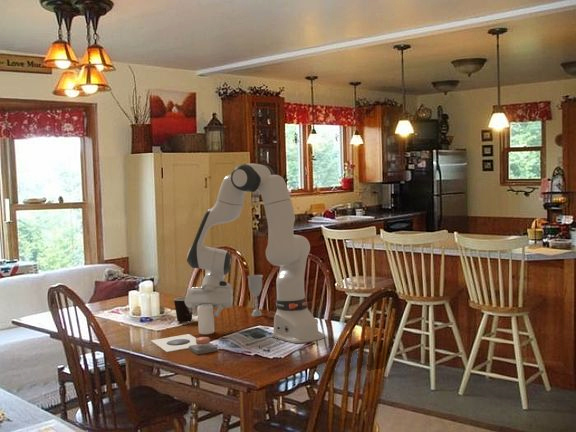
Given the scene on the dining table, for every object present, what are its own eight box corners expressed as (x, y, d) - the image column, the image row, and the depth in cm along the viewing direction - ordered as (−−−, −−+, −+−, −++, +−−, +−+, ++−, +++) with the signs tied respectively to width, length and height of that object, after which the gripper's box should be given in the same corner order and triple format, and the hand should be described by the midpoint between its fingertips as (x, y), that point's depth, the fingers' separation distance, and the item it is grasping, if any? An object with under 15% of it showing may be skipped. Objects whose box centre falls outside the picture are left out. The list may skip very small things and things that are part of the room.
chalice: (261, 312, 294) (259, 274, 293) (267, 315, 288) (265, 276, 287) (246, 314, 291) (244, 276, 290) (252, 317, 285) (250, 277, 284)
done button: (211, 342, 233) (211, 338, 233) (198, 345, 231) (198, 341, 231) (206, 340, 238) (206, 336, 238) (194, 342, 235) (193, 338, 235)
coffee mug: (181, 323, 279) (179, 301, 278) (171, 320, 286) (170, 299, 285) (203, 319, 286) (202, 297, 286) (194, 316, 293) (192, 295, 292)
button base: (217, 350, 233) (217, 346, 233) (196, 354, 229) (196, 350, 229) (209, 346, 240) (209, 342, 240) (189, 349, 236) (189, 345, 236)
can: (211, 334, 257) (210, 305, 256) (196, 334, 258) (194, 305, 257) (216, 330, 263) (215, 302, 262) (201, 330, 265) (200, 302, 264)
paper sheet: (207, 345, 242) (207, 343, 242) (166, 352, 234) (166, 351, 234) (188, 334, 259) (188, 333, 259) (150, 341, 251) (150, 340, 251)
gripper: (186, 283, 269) (179, 310, 260) (232, 282, 264) (226, 311, 255) (191, 291, 273) (183, 319, 264) (236, 291, 269) (230, 319, 260)
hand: (205, 315), depth 260 cm, fingers open, 8 cm apart
